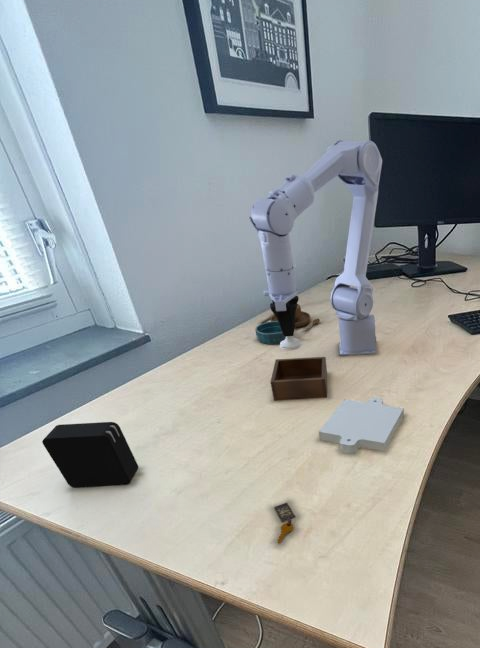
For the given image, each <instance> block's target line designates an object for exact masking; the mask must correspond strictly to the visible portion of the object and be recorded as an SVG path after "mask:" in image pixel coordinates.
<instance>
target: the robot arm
mask: <svg viewBox="0 0 480 648" xmlns="http://www.w3.org/2000/svg"><path fill="white" fill-rule="evenodd" d="M382 165H383V158H382V156H381V152H380V150H379V148H378V146H377V144H376V143H375V142H374V141H372V140H365V141H357V140H356V141H355V140H353V141H349V140H348V141H346V140H345V141H344V140H341V139H340V140H336V141H334V142H333V144H331V145H329V146H328V147H327V148H326V151H325V153H324V154H323V155H322V156H321V157H320V158H319V159H318V160H317V161H316V162H315V163H314V164H313V165H312V166H311V167H310V168H309V169H308V170H307V171H306V172H305V173H304V174H303V175H301V174H299V173H288V174H286V175H285V177H284V179H285V181H284V182H283V183H282V184H281V185H279V186H278V187H277V188H276V189H274V188H273V189H271V190H270V191H269V193H268V194H269V195H268V196H267V198H266V197H260V198H258V199H256V200H255V201H254V203H253V204H252V206H251V209H250V210H251V211H250V216H249V218H248V219H249V222H250V224H251V226H252V228H253V229H254V230H255V231H256V233H257V238H258V240H259V242H260V248H261V254H262V258H263V259H262V260H263V264H264V270H265V271H264V272H265V276H266V282H267V287H268V289H264V290H263V296H264V297H269V298H270V299H271V302H270V304H269V308H270V311H271V312H272V313H273V314H274V315H275V316H276V318H277V320H278V322H279V324H280V327H281V330H282V332H283V335H284V336H293V337H294V334H295V330H296V328H295V312H296V308H297V304H298V302H299V296H298V294H299V290H298V288H297V283H296V276H295V268H294V260H293V254H292V247H291V246H292V245H291V240H290V233H291V232H292V230H293V227H294V224H295V221H296V219H297V218H298V217H299V216H300V215H301V214H302V213H303V212H305V211H306V210H307V209H308V208H309V207H310V206H311V205H312V204H313V203H314V201H315V193H316V192H318V191H319V190H321V188H323V187H324V186H325V185H327V184H328V183H330V182H331V181H332V180H334V179H335V178H338V179H339V181H341V183H342V184H343V185H344V186H345V187H346V189H348V190H349V192H350V194H351V195H352V204H351V212H350V219H349V228H348V236H347V243H346V251H345V257H344V267H343V272H342V273H341V274H339V275H338V276H337V277H336V278H335V280H334V285H333V288H332V290H331V293H330V298H329V299H330V305H331V308H332V309H333V310H335V314H336V315H337V316H338V328H339V329H338V330H339V339H340V340H339V341H340V342H339V343H338V346H339V350H338V351H339V356H355V355H356V356H357V355H374V354H377V336H376V320H375V319H376V318H375V315H374V314H371V313H372V310H373V307H374V298H373V297H374V296H373V290H374V286H373V284H372V283H371V282H370V280H369V279H368V278H367V270H368V263H369V258H370V250H371V244H372V237H373V230H374V224H375V219H376V218H375V217H376V211H377V205H378V204H377V203H378V197H379V186H380V180H381V179H380V178H381V172H382Z"/></svg>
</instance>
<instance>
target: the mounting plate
mask: <svg viewBox="0 0 480 648" xmlns="http://www.w3.org/2000/svg"><path fill="white" fill-rule="evenodd" d="M404 412H405V408H404V407H401V406H393V405H385V404H384V400H383V399H382V398H381V397H370V398H368V400H367V401H358V400H352V399H345V398H344V399H343V401H341V403H340V405H339V406H338V407H337V408H336V409H335V411H334V412H333V413H331V416H329V418H328V419H327V421H325V423H324V424H323V426H322V427H321V428H320V429H319V431H318V436H319V441H322V442H327V443H333V444H339V448H340V452H341V453H343V454H348V455H353V454H355V453H357V451H358V450H359V449H369V450H374V451H379V452H385V451H386V449H387V448H388V446H389V444H390V442H391V440H392V438H393V437H394V435H395V433H396V432H397V429H398V428H399V426H400V424H401V423H402V420H403V418H404V416H405V413H404Z"/></svg>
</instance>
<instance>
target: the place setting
mask: <svg viewBox="0 0 480 648" xmlns="http://www.w3.org/2000/svg"><path fill="white" fill-rule="evenodd" d="M268 320H270V322H272V321H278V320H277V318H276V316H275V315H274V313H273V314H272V315H270V316H269V317H268V318H266V319H264V320H262V321H261V322H260V324H262V323H266V322H268ZM310 320H311V315H310V313H308V312H306V311H302V307H301V305H300V304H299V303H297V308H296V312H295V329H297V328H298V329H299V328H301V327H304V326H305V325H307V324H308V323H310ZM319 322H320V318H316V319H313V320H312V323H311V324H310V325H308V326H307V327H306V328H305V329H304V331H305V332H306V331H308V330H309V329H310V328H311V327H312V326H313V325H316V324H318V323H319Z"/></svg>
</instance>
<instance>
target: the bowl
mask: <svg viewBox="0 0 480 648" xmlns="http://www.w3.org/2000/svg"><path fill="white" fill-rule="evenodd" d="M254 328H255V329H254V331H255V335H256V339H257V341H258V342H260V343H262V344H265V345H278V344H279V345H280V343H281V341H283V340H285V338H286V336H284V335H283V332H282V330H281V327H280V324H279V322H278V321H272V322H271V321H265V322H263V323H260V324H258V325H256V326H255V327H254Z"/></svg>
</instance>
